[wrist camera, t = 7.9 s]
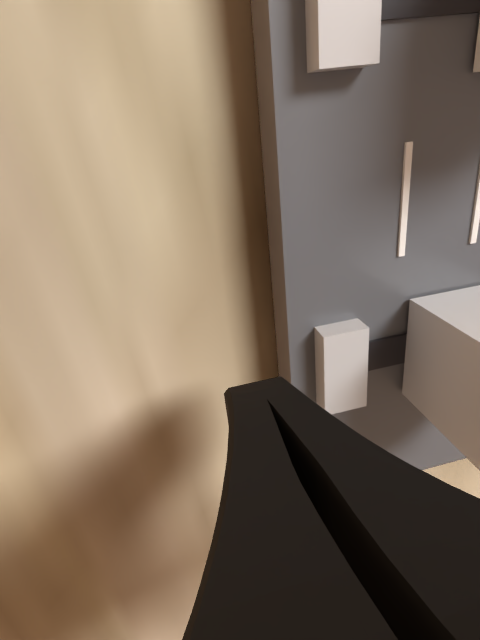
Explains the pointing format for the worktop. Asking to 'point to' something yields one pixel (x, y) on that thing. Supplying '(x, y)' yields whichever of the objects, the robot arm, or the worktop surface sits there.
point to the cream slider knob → (446, 365)
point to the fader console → (367, 195)
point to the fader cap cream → (477, 52)
